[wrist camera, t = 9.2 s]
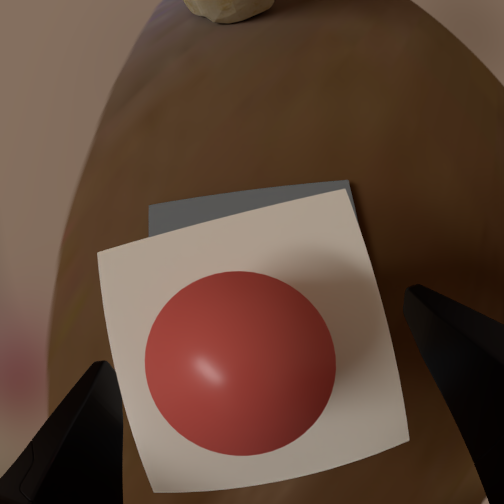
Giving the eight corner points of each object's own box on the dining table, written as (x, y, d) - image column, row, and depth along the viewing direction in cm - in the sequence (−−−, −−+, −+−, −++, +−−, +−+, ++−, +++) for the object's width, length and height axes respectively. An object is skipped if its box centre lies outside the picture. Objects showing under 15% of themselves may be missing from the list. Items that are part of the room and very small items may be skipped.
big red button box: (322, 369, 15) (446, 467, 3) (229, 392, 15) (123, 528, 3) (299, 279, 16) (365, 146, 4) (207, 301, 16) (52, 230, 4)
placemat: (380, 446, 14) (383, 450, 14) (176, 467, 15) (173, 471, 14) (346, 184, 18) (348, 179, 17) (152, 208, 18) (148, 205, 18)
